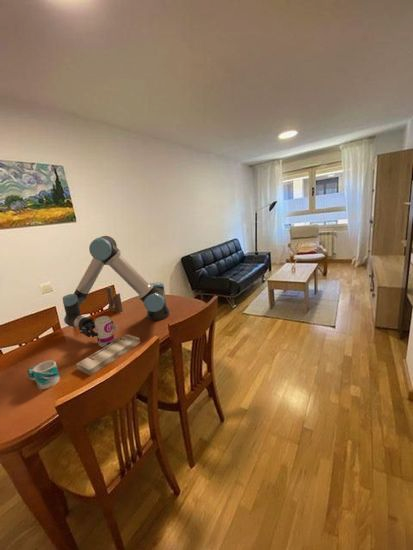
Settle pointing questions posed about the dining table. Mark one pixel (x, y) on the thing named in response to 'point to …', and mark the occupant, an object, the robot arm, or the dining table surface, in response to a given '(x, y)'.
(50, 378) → the mug
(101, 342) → the supplement can
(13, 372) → the dining table surface
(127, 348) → the grey compartment tray
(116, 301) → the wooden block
